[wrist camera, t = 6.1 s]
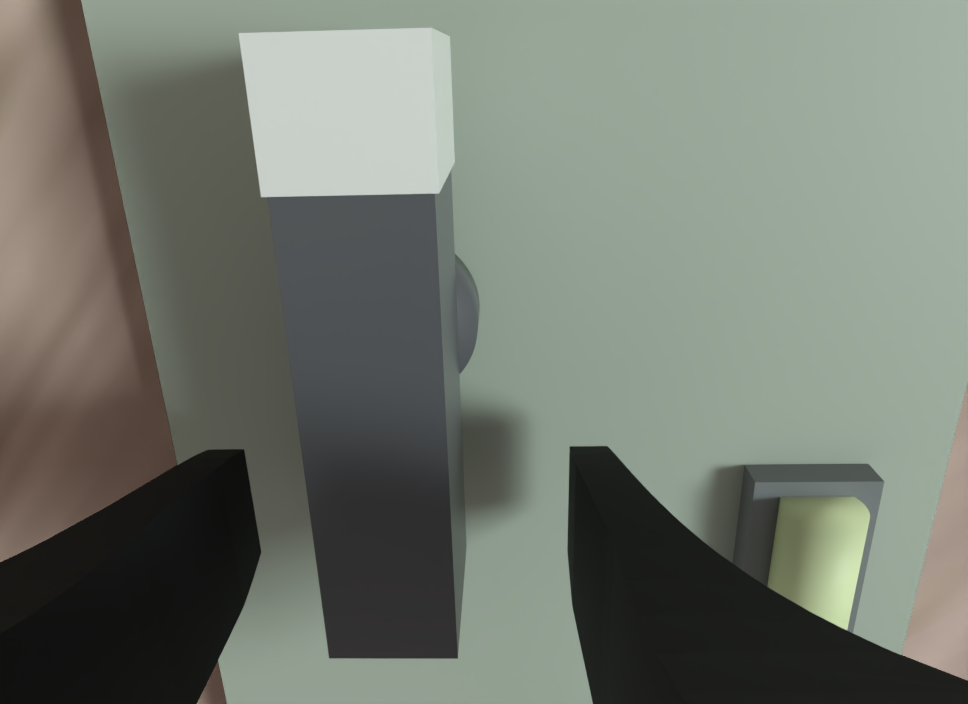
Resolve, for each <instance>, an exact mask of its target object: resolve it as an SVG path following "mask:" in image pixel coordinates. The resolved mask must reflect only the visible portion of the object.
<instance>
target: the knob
mask: <svg viewBox="0 0 968 704" xmlns="http://www.w3.org/2000/svg"><path fill="white" fill-rule="evenodd" d="M239 40H240V48H241V55H242V62H243V69H244V77H245V84H246V91H247V99H248V106H249V113H250V120H251V128H252V135H253V142H254V150H255V157H256V164H257V171H258V179H259V186H260V193H261V197H267V199H268V207H269V214H270V221H271V229H272V236H273V244H274V251H275V259H276V266H277V274H278V281H279V289H280V296H281V303H282V311H283V318H284V326H285V333H286V341H287V348H288V356H289V363H290V371H291V378H292V385H293V393H294V400H295V408H296V415H297V423H298V430H299V438H300V445H301V453H302V460H303V467H304V475H305V482H306V490H307V497H308V505H309V512H310V520H311V527H312V535H313V542H314V549H315V557H316V564H317V572H318V579H319V587H320V594H321V602H322V609H323V616H324V624H325V631H326V639H327V646H328V654H329V658H360V659H458V650H459V638H460V625H461V612H462V599H463V587H464V574H465V561H466V549H467V544H466V519H465V495H464V470H463V445H462V421H461V396H460V373H461V372H462V371H463V370H464V368H465V367H466V366H467V364H468V362H469V360H470V358H471V356H472V354H473V351H474V348H475V345H476V340H477V333H478V323H479V311H480V303H479V295H478V290H477V286H476V284H475V281H474V279H473V277H472V275H471V273H470V271H469V269H468V268H467V267H466V265H465V264H464V263H463V261H462V260H461V259H460V258H459V257H458V256H457V255H456V254H455V248H454V223H453V199H452V174H451V169H452V167H453V165H454V163H455V152H454V126H453V101H452V75H451V49H450V36H448V35H446V34H444V33H442V32H440V31H438V30H435V29H433V28H399V29H363V30H328V31H293V32H258V33H239Z"/></svg>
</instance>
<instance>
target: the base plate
mask: <svg viewBox="0 0 968 704" xmlns="http://www.w3.org/2000/svg"><path fill="white" fill-rule="evenodd" d="M81 3H82V8H83V13H84V17H85V22H86V27H87V32H88V37H89V41H90V46H91V51H92V56H93V61H94V65H95V70H96V75H97V80H98V85H99V90H100V94H101V99H102V104H103V109H104V114H105V118H106V123H107V128H108V133H109V138H110V143H111V147H112V152H113V157H114V162H115V167H116V171H117V176H118V181H119V186H120V191H121V196H122V200H123V205H124V210H125V215H126V220H127V224H128V229H129V234H130V239H131V244H132V248H133V253H134V258H135V263H136V268H137V273H138V277H139V282H140V287H141V292H142V297H143V301H144V306H145V311H146V316H147V321H148V326H149V330H150V335H151V340H152V345H153V350H154V354H155V359H156V364H157V369H158V374H159V378H160V383H161V388H162V393H163V398H164V403H165V407H166V412H167V417H168V422H169V427H170V431H171V436H172V441H173V446H174V451H175V456H176V460H177V465H179V464H180V463H182V462H184V461H186V460H188V459H189V458H191V457H193V456H195V455H197V454H199V453H201V452H204V451H206V450H213V449H244V451H245V457H246V463H247V469H248V475H249V481H250V487H251V493H252V499H253V505H254V511H255V517H256V523H257V529H258V535H259V541H260V547H261V555H260V558H259V562H258V565H257V568H256V571H255V575H254V578H253V581H252V584H251V587H250V590H249V593H248V596H247V599H246V602H245V605H244V607H243V609H242V611H241V614H240V616H239V618H238V620H237V622H236V624H235V626H234V628H233V630H232V632H231V635H230V637H229V639H228V641H227V643H226V645H225V647H224V649H223V651H222V653H221V655H220V657H219V659H218V663H219V667H220V672H221V677H222V682H223V687H224V691H225V696H226V701H227V704H593V702H592V697H591V692H590V688H589V683H588V678H587V673H586V669H585V664H584V659H583V655H582V650H581V645H580V641H579V636H578V631H577V626H576V621H575V617H574V612H573V607H572V598H571V587H570V576H569V564H568V552H567V546H568V499H569V453H570V446H608V447H609V448H610V449H611V450H612V451H613V452H614V453H615V454H616V456H617V457H618V458H619V459H620V460H621V461H622V462H623V463H624V465H625V466H626V467H627V468H628V469H629V470H630V471H631V473H632V474H633V475H634V476H635V477H636V478H637V479H638V480H639V481H640V482H641V483H642V485H643V486H644V487H645V488H646V489H647V490H648V491H649V492H650V493H651V494H652V495H653V496H654V497H655V498H656V499H657V500H658V501H659V502H660V503H661V504H662V505H663V506H664V507H665V508H666V509H667V510H668V511H669V512H670V513H671V514H672V515H673V516H674V517H675V518H677V519H678V520H679V521H680V522H681V523H682V524H683V525H685V526H686V527H687V528H688V529H689V530H690V531H692V532H693V533H694V534H695V535H696V536H697V537H699V538H700V539H701V540H702V541H703V542H705V543H706V544H707V545H708V546H710V547H711V548H712V549H714V550H715V551H716V552H717V553H719V554H720V555H721V556H723V557H724V558H726V559H727V560H729V561H730V562H731V563H733V564H734V565H736V566H737V567H739V568H740V569H741V570H743V571H744V572H746V573H747V574H748V575H750V576H751V577H753V578H754V579H756V580H757V581H759V582H761V583H762V584H764V585H765V586H767V587H769V588H770V589H772V590H773V591H775V592H777V593H779V594H780V595H782V596H784V597H786V598H787V599H789V600H791V601H792V602H794V603H796V604H798V605H799V606H801V607H803V608H805V609H806V610H808V611H810V612H812V613H813V614H815V615H817V616H819V617H821V618H823V619H825V620H827V621H829V622H831V623H833V624H835V625H837V626H839V627H841V628H843V629H845V630H847V631H849V632H851V633H853V634H856V635H858V636H860V637H862V638H864V639H866V640H868V641H871V642H873V643H875V644H877V645H879V646H881V647H883V648H886V649H888V650H890V651H893V652H895V653H897V654H900V655H901V654H902V650H903V646H904V642H905V637H906V633H907V629H908V625H909V621H910V617H911V613H912V609H913V604H914V600H915V596H916V592H917V588H918V584H919V580H920V576H921V571H922V567H923V563H924V559H925V555H926V551H927V547H928V543H929V538H930V534H931V530H932V526H933V522H934V518H935V514H936V510H937V505H938V501H939V497H940V493H941V489H942V485H943V481H944V477H945V472H946V468H947V464H948V460H949V456H950V452H951V448H952V443H953V439H954V435H955V431H956V427H957V423H958V419H959V415H960V410H961V406H962V402H963V398H964V394H965V390H966V386H967V382H968V0H81ZM399 28H433V29H435V30H438V31H440V32H442V33H444V34H446V35H448V36H450V49H451V75H452V101H453V126H454V152H455V163H454V165H453V167H452V169H451V174H452V199H453V223H454V248H455V254H456V255H457V256H458V257H459V258H460V259H461V260H462V261H463V263H464V264H465V265H466V267H467V268H468V269H469V271H470V273H471V275H472V277H473V279H474V281H475V284H476V286H477V290H478V295H479V303H480V311H479V323H478V333H477V340H476V345H475V348H474V351H473V354H472V356H471V358H470V360H469V362H468V364H467V366H466V367H465V368H464V370H463V371H462V372H461V373H460V396H461V421H462V445H463V470H464V495H465V519H466V544H467V549H466V561H465V574H464V587H463V599H462V612H461V625H460V638H459V650H458V659H360V658H329V654H328V646H327V639H326V631H325V624H324V616H323V609H322V602H321V594H320V587H319V579H318V572H317V564H316V557H315V549H314V542H313V535H312V527H311V520H310V512H309V505H308V497H307V490H306V482H305V475H304V467H303V460H302V453H301V445H300V438H299V430H298V423H297V415H296V408H295V400H294V393H293V385H292V378H291V371H290V363H289V356H288V348H287V341H286V333H285V326H284V318H283V311H282V303H281V296H280V289H279V281H278V274H277V266H276V259H275V251H274V244H273V236H272V229H271V221H270V214H269V207H268V199H267V197H261V193H260V186H259V179H258V171H257V164H256V157H255V150H254V142H253V135H252V128H251V120H250V113H249V106H248V99H247V91H246V84H245V77H244V69H243V62H242V55H241V48H240V40H239V33H258V32H293V31H328V30H363V29H399Z"/></svg>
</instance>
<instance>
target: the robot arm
mask: <svg viewBox="0 0 968 704" xmlns="http://www.w3.org/2000/svg"><path fill="white" fill-rule="evenodd" d="M567 552H568V564H569V576H570V587H571V598H572V607H573V612H574V617H575V621H576V626H577V631H578V636H579V641H580V645H581V650H582V655H583V659H584V664H585V669H586V673H587V678H588V683H589V688H590V692H591V697H592V702H593V704H968V681H967V680H964V679H962V678H959V677H956V676H954V675H951V674H949V673H946V672H944V671H941V670H938V669H936V668H933V667H931V666H928V665H926V664H923V663H920V662H918V661H915V660H913V659H910V658H908V657H905V656H902V655H900V654H897V653H895V652H893V651H890V650H888V649H886V648H883V647H881V646H879V645H877V644H875V643H873V642H871V641H868V640H866V639H864V638H862V637H860V636H858V635H856V634H853V633H851V632H849V631H847V630H845V629H843V628H841V627H839V626H837V625H835V624H833V623H831V622H829V621H827V620H825V619H823V618H821V617H819V616H817V615H815V614H813V613H812V612H810V611H808V610H806V609H805V608H803V607H801V606H799V605H798V604H796V603H794V602H792V601H791V600H789V599H787V598H786V597H784V596H782V595H780V594H779V593H777V592H775V591H773V590H772V589H770V588H769V587H767V586H765V585H764V584H762V583H761V582H759V581H757V580H756V579H754V578H753V577H751V576H750V575H748V574H747V573H746V572H744V571H743V570H741V569H740V568H739V567H737V566H736V565H734V564H733V563H731V562H730V561H729V560H727V559H726V558H724V557H723V556H721V555H720V554H719V553H717V552H716V551H715V550H714V549H712V548H711V547H710V546H708V545H707V544H706V543H705V542H703V541H702V540H701V539H700V538H699V537H697V536H696V535H695V534H694V533H693V532H692V531H690V530H689V529H688V528H687V527H686V526H685V525H683V524H682V523H681V522H680V521H679V520H678V519H677V518H675V517H674V516H673V515H672V514H671V513H670V512H669V511H668V510H667V509H666V508H665V507H664V506H663V505H662V504H661V503H660V502H659V501H658V500H657V499H656V498H655V497H654V496H653V495H652V494H651V493H650V492H649V491H648V490H647V489H646V488H645V487H644V486H643V485H642V483H641V482H640V481H639V480H638V479H637V478H636V477H635V476H634V475H633V474H632V473H631V471H630V470H629V469H628V468H627V467H626V466H625V465H624V463H623V462H622V461H621V460H620V459H619V458H618V457H617V456H616V454H615V453H614V452H613V451H612V450H611V449H610V448H609V447H608V446H570V453H569V499H568V546H567ZM260 555H261V547H260V541H259V535H258V529H257V523H256V517H255V511H254V505H253V499H252V493H251V487H250V481H249V475H248V469H247V463H246V457H245V451H244V449H213V450H206V451H204V452H201V453H199V454H197V455H195V456H193V457H191V458H189V459H188V460H186V461H184V462H182V463H180V464H179V465H177V466H175V467H173V468H172V469H170V470H168V471H167V472H165V473H163V474H162V475H160V476H158V477H156V478H155V479H153V480H151V481H150V482H148V483H146V484H145V485H143V486H141V487H140V488H138V489H136V490H135V491H133V492H131V493H130V494H128V495H126V496H124V497H123V498H121V499H119V500H118V501H116V502H114V503H113V504H111V505H109V506H108V507H106V508H104V509H102V510H100V511H99V512H97V513H95V514H93V515H91V516H89V517H88V518H86V519H84V520H82V521H80V522H78V523H77V524H75V525H73V526H71V527H69V528H68V529H66V530H64V531H62V532H60V533H58V534H57V535H55V536H53V537H51V538H49V539H47V540H46V541H44V542H42V543H40V544H38V545H36V546H34V547H32V548H30V549H28V550H26V551H23V552H21V553H19V554H17V555H15V556H13V557H11V558H9V559H7V560H4V561H2V562H0V704H197V702H198V700H199V698H200V696H201V694H202V692H203V690H204V688H205V686H206V684H207V681H208V679H209V677H210V675H211V673H212V671H213V669H214V667H215V665H216V663H217V661H218V659H219V657H220V655H221V653H222V651H223V649H224V647H225V645H226V643H227V641H228V639H229V637H230V635H231V632H232V630H233V628H234V626H235V624H236V622H237V620H238V618H239V616H240V614H241V611H242V609H243V607H244V605H245V602H246V599H247V596H248V593H249V590H250V587H251V584H252V581H253V578H254V575H255V571H256V568H257V565H258V562H259V558H260Z"/></svg>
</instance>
